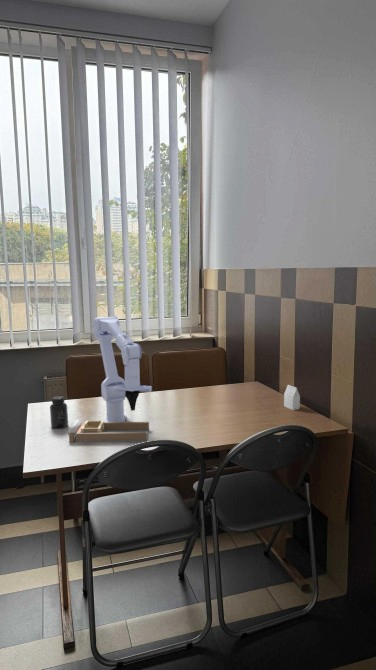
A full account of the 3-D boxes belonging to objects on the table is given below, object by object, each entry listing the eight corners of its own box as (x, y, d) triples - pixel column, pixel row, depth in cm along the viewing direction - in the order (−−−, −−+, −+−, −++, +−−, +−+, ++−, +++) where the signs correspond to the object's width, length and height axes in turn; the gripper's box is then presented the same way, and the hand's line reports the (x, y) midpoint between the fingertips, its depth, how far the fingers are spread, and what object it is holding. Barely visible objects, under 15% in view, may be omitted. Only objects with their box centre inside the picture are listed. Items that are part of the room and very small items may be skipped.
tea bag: (292, 410, 215) (293, 388, 214) (283, 406, 221) (284, 385, 220) (299, 409, 217) (300, 387, 215) (290, 405, 223) (291, 384, 221)
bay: (75, 430, 191) (74, 418, 190) (149, 429, 191) (148, 417, 190) (67, 442, 178) (66, 430, 177) (146, 441, 178) (146, 429, 177)
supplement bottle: (69, 423, 200) (68, 395, 198) (66, 428, 193) (64, 399, 191) (53, 423, 200) (51, 395, 198) (49, 428, 193) (47, 400, 191)
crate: (86, 430, 189) (85, 420, 188) (104, 430, 189) (103, 420, 188) (81, 438, 180) (81, 428, 179) (100, 438, 180) (99, 428, 179)
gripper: (111, 378, 181) (112, 413, 183) (150, 378, 181) (150, 412, 183) (114, 373, 188) (115, 407, 190) (151, 373, 188) (152, 407, 190)
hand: (133, 409), depth 187 cm, fingers closed
